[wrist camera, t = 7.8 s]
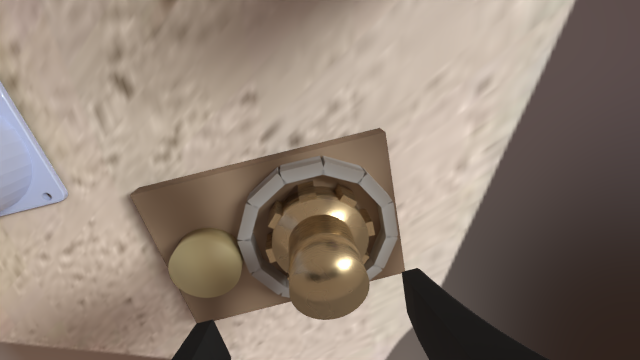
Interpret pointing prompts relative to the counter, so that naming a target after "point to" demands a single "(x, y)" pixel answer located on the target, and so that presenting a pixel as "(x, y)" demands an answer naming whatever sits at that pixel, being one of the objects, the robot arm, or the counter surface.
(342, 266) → the planet gear
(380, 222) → the carrier board
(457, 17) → the counter surface
